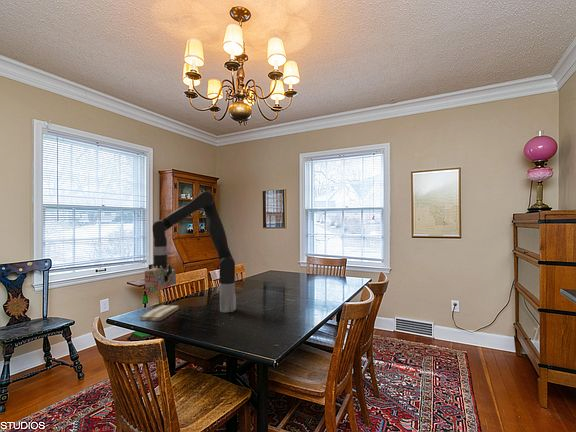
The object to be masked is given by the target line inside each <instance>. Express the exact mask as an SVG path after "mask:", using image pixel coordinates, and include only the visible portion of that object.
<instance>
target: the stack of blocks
mask: <svg viewBox="0 0 576 432" xmlns="http://www.w3.org/2000/svg"><path fill="white" fill-rule="evenodd" d="M166 269H167V270H168V266H167V267H166V268H165V269H164V268H154V267H153V269H149V268H148V269H146V270H144V292H145V293H156V292H159V291H162V290H163V289H166V288H167V289H168V288H169V287H171V286H174V285H176V284H177V279H176V278H177V277H176V276H177V275H176V273H177V272H176V269H173V268H172V274H170V275H169V276H168V281H167V282H165V274H164V270H166Z"/></svg>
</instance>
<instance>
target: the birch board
mask: <svg viewBox="0 0 576 432" xmlns="http://www.w3.org/2000/svg"><path fill="white" fill-rule="evenodd" d="M179 307H180V305H168V304H166V305H165V304H161V305H159V306H156V307H155V308H154V309H151V310H149V311H147V312H146V313H143V314H142V315H141V316H139V320H140V321H155V322H157V321H158V322H160V321H162V320H164V319H166V318H168V317H169V316H170V315H172V314H173V313H175V312H176V311H178V310H179V309H180V308H179Z"/></svg>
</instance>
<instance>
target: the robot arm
mask: <svg viewBox="0 0 576 432" xmlns="http://www.w3.org/2000/svg"><path fill="white" fill-rule="evenodd" d="M201 209H203V212H204V214H205V216H206V225H207V229H208V233H209V236H210V239H211V241H212V243H213V245H214V247H215V249H216V252H217V256H218V261H219V312H220V313H234V312H235V310H236V309H237V294H236V262H235V260H234V257H233V255H232V253H231V251H230V248H229V243H228V239H227V235H226V232H225V228H224V225H223V222H222V220H221V218H220V216H219V213H218V209H217V205H216V201H215V197H214V195H213V193H211V192H209V191H201V193H200V194H199V195H197V196H196V197H195V198H194V199H193V200H191V201H190V202H188V203H186V204H185V205H183V206H182V207H179V208H177V209H176V210H174V211H172V212H171V213H169V214H168V215H167V216H166V217H164V218H162V219H160V220H156V221H154V223H152V236H153V263H150V264H148V270H149V269H153V268H164V269H165V268H166V267H167V269H168V270H167V269H166V270H164V274H165V282H167V281H168V276H169V275H170V274H172V269H173V264H171V263H170V264H169V263H168V246H167V243H168V241H167V239H168V238H167V237H166V231H167V230H169V229H170V228H172V227H173V226H175V225H177V224H178V223H180V222H182V221H183V220H185V219H186V218H189V216H190V215H192V214H193V213H195V212H197V211H198V210H201Z"/></svg>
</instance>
